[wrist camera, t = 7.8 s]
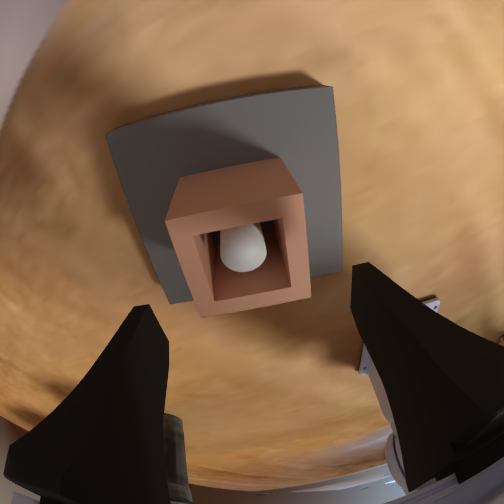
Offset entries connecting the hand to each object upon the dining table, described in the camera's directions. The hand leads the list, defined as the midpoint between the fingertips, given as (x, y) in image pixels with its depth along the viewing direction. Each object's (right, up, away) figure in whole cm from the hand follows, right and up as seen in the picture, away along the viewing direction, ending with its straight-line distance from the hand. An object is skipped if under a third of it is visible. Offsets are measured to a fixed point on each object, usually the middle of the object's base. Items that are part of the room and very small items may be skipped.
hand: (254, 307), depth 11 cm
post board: (-1, +5, +8) cm, 9 cm away
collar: (-1, +4, +7) cm, 8 cm away
